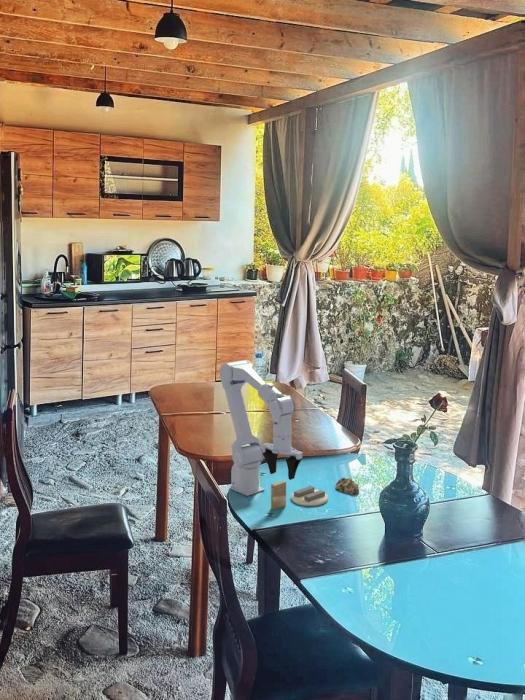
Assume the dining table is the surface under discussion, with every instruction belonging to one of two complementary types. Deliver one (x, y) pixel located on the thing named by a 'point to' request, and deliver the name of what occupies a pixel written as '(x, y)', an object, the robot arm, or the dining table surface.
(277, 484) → the wooden block
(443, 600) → the dining table surface
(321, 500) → the clip base
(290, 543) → the dining table surface
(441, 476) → the dining table surface
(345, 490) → the mineral rock
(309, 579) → the dining table surface
